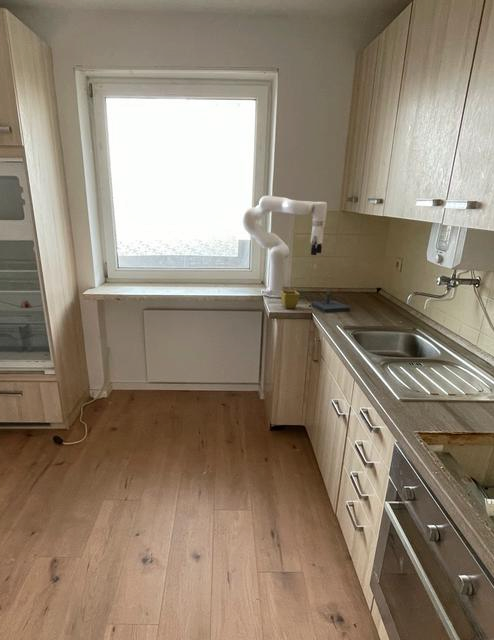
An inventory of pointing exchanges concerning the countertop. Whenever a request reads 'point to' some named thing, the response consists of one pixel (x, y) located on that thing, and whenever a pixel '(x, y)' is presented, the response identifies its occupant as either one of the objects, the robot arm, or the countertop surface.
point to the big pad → (331, 307)
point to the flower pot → (289, 298)
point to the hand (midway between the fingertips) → (316, 253)
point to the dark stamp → (327, 300)
